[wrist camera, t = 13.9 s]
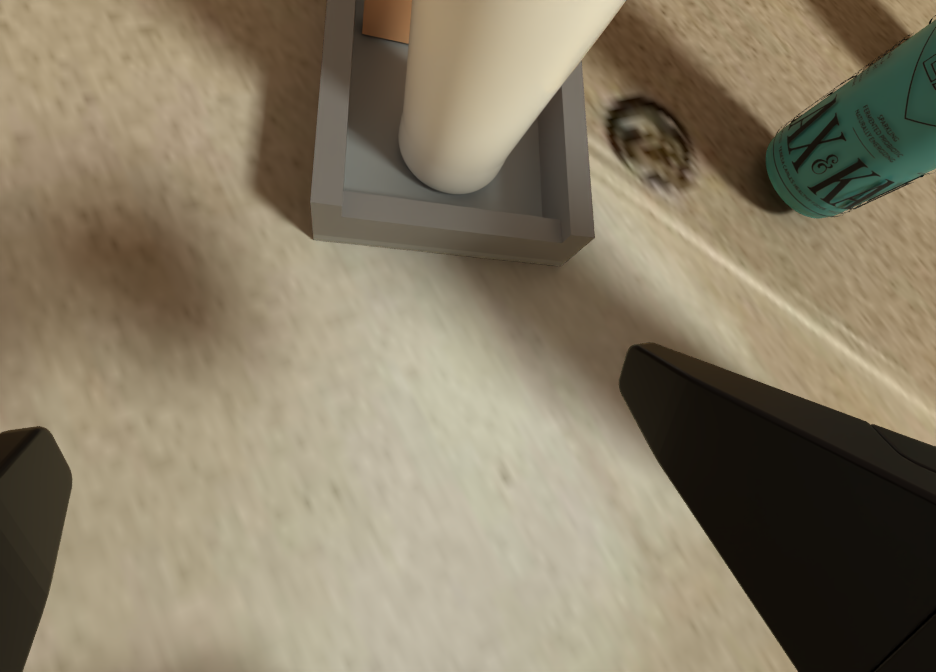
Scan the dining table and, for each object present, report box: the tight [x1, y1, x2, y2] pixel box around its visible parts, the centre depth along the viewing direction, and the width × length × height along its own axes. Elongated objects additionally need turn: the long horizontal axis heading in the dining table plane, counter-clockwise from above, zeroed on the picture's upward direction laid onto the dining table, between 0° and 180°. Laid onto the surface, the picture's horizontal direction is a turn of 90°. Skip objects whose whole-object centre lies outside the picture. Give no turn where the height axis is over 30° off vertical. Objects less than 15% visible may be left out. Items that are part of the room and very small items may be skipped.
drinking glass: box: [398, 0, 626, 195], centre depth 17 cm, size 7×7×15 cm
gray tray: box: [310, 0, 595, 266], centre depth 23 cm, size 18×12×6 cm
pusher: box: [362, 0, 412, 44], centre depth 23 cm, size 1×9×5 cm, turn 90°
